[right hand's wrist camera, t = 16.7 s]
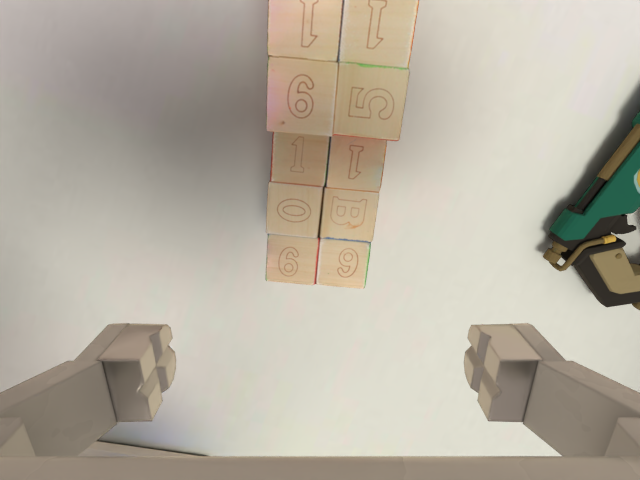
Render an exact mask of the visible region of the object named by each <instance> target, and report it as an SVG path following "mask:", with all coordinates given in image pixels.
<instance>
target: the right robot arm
mask: <svg viewBox="0 0 640 480" xmlns="http://www.w3.org/2000/svg"><path fill="white" fill-rule="evenodd" d="M171 340H172V333H171V328H170V327H169V326H168V325H167V324H129V323H121V324H110V325H107V327H106V328H105V329H104V330H103V331H102V332H101V333H100V334H99V335H98V336H97V337H96V338H95V339H94V340H93V341H92V342H91V343H90V344H89V345H88V347H87V348H86V349H85V350H84V351H83V352H82V353H81V354H80V355H79V356H78V357H77V358H76V359H75V360H74V361H66V362H64V363H62V364H60V365H58V366H56V367H54V368H52V369H50V370H48V371H45V372H43V373H41V374H39V375H37V376H35V377H33V378H31V379H29V380H26V381H24V382H22V383H20V384H18V385H16V386H14V387H12V388H10V389H7V390H5V391H3V392H1V393H0V480H640V393H639V392H637V391H635V390H632V389H630V388H628V387H626V386H624V385H622V384H620V383H618V382H616V381H613V380H611V379H609V378H607V377H605V376H603V375H601V374H599V373H597V372H595V371H592V370H590V369H588V368H586V367H584V366H582V365H580V364H578V363H576V362H574V361H566V360H565V359H564V358H563V357H562V356H561V355H560V354H559V353H558V352H557V351H556V350H555V349H554V348H553V346H552V345H551V344H550V343H549V342H548V341H547V340H546V339H545V338H544V337H543V336H542V335H541V334H540V333H539V332H538V331H537V330H536V329H535V327H534V326H533V325H530V324H528V323H520V324H491V325H471V327H470V329H469V332H468V340H469V342H470V343H471V345H472V346H471V347H470V348H469V349H468V350H467V351H466V352H465V357H464V370H465V375H466V379H467V381H468V383H469V385H470V387H471V388H472V389H473V390H475V391H476V392H478V393H479V394H478V400H477V401H478V403H479V405H480V406H481V408H482V410H483V412H484V414H485V416H486V418H487V420H488V421H502V422H523V424H524V425H525V426H526V427H528V428H529V429H530V430H531V431H533V432H534V433H535V434H536V435H537V436H539V437H540V438H541V439H542V440H544V441H545V442H546V443H547V444H548V445H550V446H551V447H552V448H553V449H555V450H556V451H557V452H558V453H559V454H561V455H562V456H196V455H189V454H183V453H176V452H169V451H162V450H155V449H148V448H141V447H134V446H127V445H120V444H113V443H106V442H99V441H97V440H98V439H99V438H100V437H102V436H103V435H104V434H105V433H106V432H108V431H109V430H110V429H111V428H113V427H114V426H115V425H116V424H117V422H137V421H152V420H153V418H154V416H155V414H156V412H157V410H158V408H159V406H160V405H161V403H162V401H163V400H162V394H161V393H162V392H164V391H165V390H167V389H168V388H169V387H170V385H171V383H172V381H173V379H174V375H175V370H176V356H175V352H174V351H173V350H172V349H171V348H170V347H169V346H168V345H169V343H170V342H171Z"/></svg>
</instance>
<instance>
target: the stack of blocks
mask: <svg viewBox="0 0 640 480" xmlns="http://www.w3.org/2000/svg"><path fill="white" fill-rule="evenodd" d="M418 5H419V0H268V32H267V51H268V58H269V59H268V65H267V106H266V130H267V131H271V132H273V140H272V159H271V177H270V181H269V183H268V197H267V217H266V233H267V234H268V242H267V261H266V281H274V282H285V283H296V284H306V285H314V284H319V285H327V286H338V287H349V288H362V289H364V288H365V284H366V277H367V270H368V263H369V256H370V246H371V242H372V240H373V234H374V227H375V220H376V213H377V206H378V200H379V191H380V188H381V181H382V175H383V168H384V160H385V152H386V145H387V140H390V141H398V140H399V138H400V132H401V125H402V118H403V112H404V105H405V99H406V92H407V86H408V79H409V73H410V72H409V68H408V66H409V60H410V55H411V49H412V43H413V37H414V30H415V23H416V17H417V11H418Z"/></svg>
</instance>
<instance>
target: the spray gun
mask: <svg viewBox="0 0 640 480" xmlns="http://www.w3.org/2000/svg"><path fill="white" fill-rule="evenodd" d="M632 127H633V129H632V130H631V132H630V133H629V134H628V136H627V137H626V138H625V140H624V141H623V142H622V143H621V145H620V146H619V147H618V149H617V150H616V151H615V153H614V154H613V155H612V157H611V158H610V159H609V160H608V162H607V163H606V164H605V166H604V167H603V168H602V170H601V171H600V172H599V174H598V175H597V177H596V179H595V180H594V181H593V183H592V184H591V185H590V187H589V188H588V189H587V191H586V192H585V193H584V194H583V196H582V197H581V198H580V200H579V201H578V202H577V204H576V205H575V206H572V205H569V206H568V207H567V208H566V209H564V210H563V212H562V213H561V214H560V216H559V217H558V218H557V220H556V221H555V222H554V224H553V225H552V226H551V228H550V229H549V230H550V231H551V233H550V234H549V237H550V238H551V239H552V240H554V242H553V243H552V246H553V248H552V249H548V250H547V251H546V253H545V254H544V255H543V257H544V258H545V259H546V260H548V261H549V263H550V264H551V265H552V266H553V267H554V268H556V269H557V270H559V271H563V270H566V269H567V268H568V267H569V266H570V265H572V266H575V268H576V269H577V271H578V272H579V274H580V275H581V277H582V278H583V280H584V281H585V283H586V284H587V286H588V287H589V289H590V290H591V291H592V293H593V294H594V296H595V297H596V299H597V300H598V301H599V302H600V303H601V304H603V305H604V306H605V307H612V306H618V305H625V304H631V303H632V305H633V306H634V307H635V308H637V309H638V310H640V264H639V265H638V264H630V263H629V261H628V259H627V256H626V254H625V252H624V250H623V248H622V247H623V246H625V245H626V243H625V242H624V241H623V240H621V239H619V238H617V237H616V236H614V235H612V234H611V232H613V233H615V234H625V233H629V232H632V231H634V230H636V226H634V225H628V224H627V215H625V214H630V213H633V212H635V211H636V210H637V209H638V208H639V207H640V111H639V113H638V114H637V115H636V117H635V118H634V119H633V121H632ZM561 257H562V258H563V259H564V260H565V261H566V262H565V263H564V264H563V265H562V266H560V265H558V264H557V262H558V260H559V259H560V258H561Z"/></svg>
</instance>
